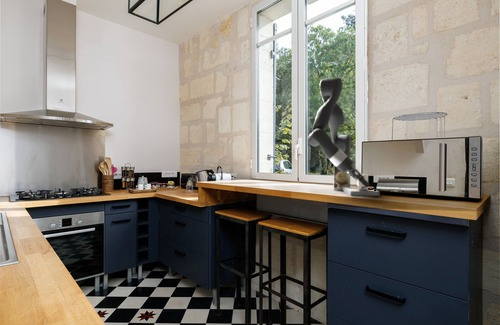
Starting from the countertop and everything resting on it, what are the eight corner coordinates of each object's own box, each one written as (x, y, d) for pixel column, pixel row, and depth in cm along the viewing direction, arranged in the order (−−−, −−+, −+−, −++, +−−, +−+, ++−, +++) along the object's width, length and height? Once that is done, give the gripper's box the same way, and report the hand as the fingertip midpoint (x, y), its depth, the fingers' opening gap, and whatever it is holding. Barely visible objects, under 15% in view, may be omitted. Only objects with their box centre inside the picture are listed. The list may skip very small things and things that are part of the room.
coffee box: (333, 190, 159) (333, 162, 159) (333, 189, 165) (333, 162, 165) (350, 190, 156) (350, 161, 156) (350, 189, 162) (349, 162, 162)
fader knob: (357, 189, 138) (357, 173, 138) (366, 189, 137) (366, 174, 137) (358, 190, 134) (358, 174, 134) (368, 190, 133) (368, 174, 133)
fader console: (343, 191, 153) (343, 187, 153) (368, 191, 151) (368, 187, 151) (350, 195, 132) (350, 191, 132) (379, 195, 130) (379, 191, 130)
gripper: (349, 154, 130) (377, 181, 128) (344, 155, 144) (369, 179, 142) (337, 166, 131) (365, 192, 129) (333, 165, 145) (358, 189, 143)
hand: (367, 185), depth 135 cm, fingers closed on fader knob, 3 cm apart
